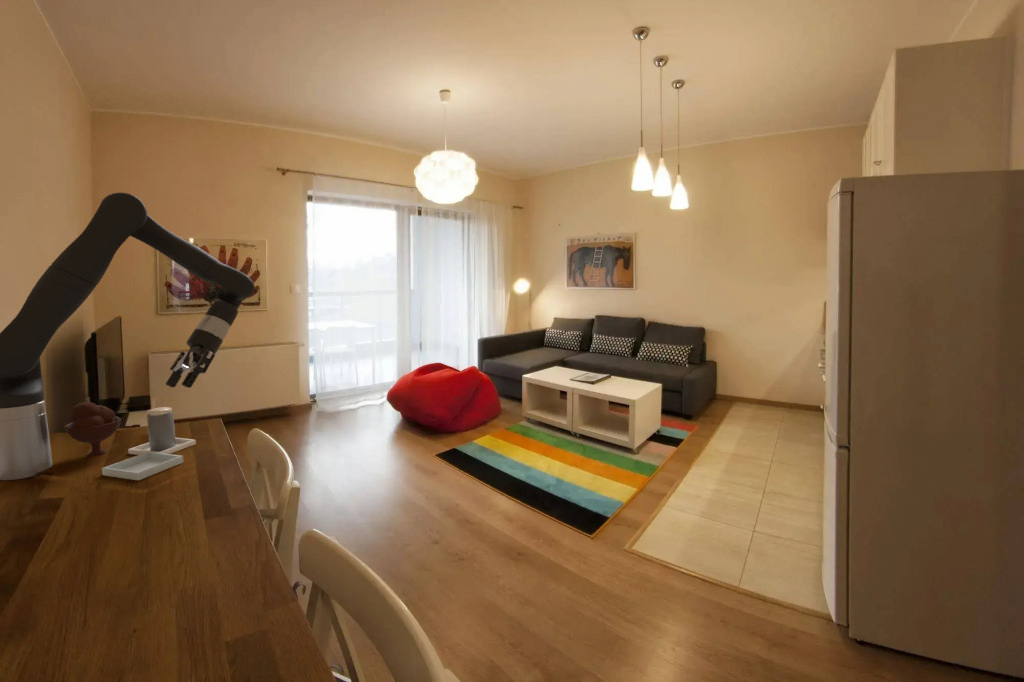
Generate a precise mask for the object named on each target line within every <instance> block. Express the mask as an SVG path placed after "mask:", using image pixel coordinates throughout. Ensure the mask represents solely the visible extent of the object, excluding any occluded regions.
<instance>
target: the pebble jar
mask: <svg viewBox="0 0 1024 682" xmlns="http://www.w3.org/2000/svg"><path fill="white" fill-rule="evenodd" d="M172 409H173V408H172V407H170V406H163V407H162V406H159V407H154V408H152V409H148V410H147V413H146V421H147V431H148V441H149V443H150V451H155V452H161V451H164V450H166V449H169V448H172V447H175V446H176V441H175V438H176V432H175V420H174V419H175V418H174V411H173V410H172Z"/></svg>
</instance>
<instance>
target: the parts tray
mask: <svg viewBox="0 0 1024 682" xmlns="http://www.w3.org/2000/svg"><path fill="white" fill-rule="evenodd" d="M175 441H176V446H175V447H172V448H169V449H166V450H164V451H161V452H157V453H165V454H173V453H176V452H178V451H181V450H184V449H187V448H190V447H192V446H194V445H196V444H197V442H196V441H197V440H196V439H191V438H182V437H175ZM127 451H128V455H135V456H138V455H141V454H143V453H146V452H155V451H150V443H149V442H148V441H147V442H146V443H143V444H140V445H137V446H134V447H130V448H128V450H127Z"/></svg>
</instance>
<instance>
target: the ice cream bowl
mask: <svg viewBox="0 0 1024 682" xmlns="http://www.w3.org/2000/svg"><path fill="white" fill-rule="evenodd" d="M68 414H69V417H70V419H71V420H72V422H70V423H66V424H65V425H63V427H64V429H65V432H66V433H67V434H68V435H69V436H70V437H71V438H72V439H73V440H76V441H78V442H80V443H83V444H90V445H91V451H90V452H89V453H87V454H86V455H85V457H86V458H95V457H100V456H103V455H106V454H108V453H109V451H108V450H104V449H102V448H101V447H102V446H101V444H102V442H103V441H105V440H106V439H108V438H110V437H111V436H112V435H114V434H115V433H116V432H117V431H118V430H119V429H120V426H121V422H122V418H121V417H119V416H116V414H115V411H114V410H112V409H111V408H109V407H107V406H105V405H100V404H99V405H98V404H96V403H95V402H92V401H91V402H86V401H85V402H84V401H83V402H80V403H78V404H76V405H74V406H73V407H72V408H71V409H70V411H69V413H68Z"/></svg>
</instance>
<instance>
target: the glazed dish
mask: <svg viewBox="0 0 1024 682" xmlns="http://www.w3.org/2000/svg"><path fill="white" fill-rule="evenodd" d="M183 463H184V455H181V454H180V455H178V454H173V453H171V454H165V453H157V452H146V453H143V454H141V455H135V456H132V457H130V458H127V459H124V460H121V461H119V462H116V463H112V464H110V465H107V466H104V467H102V468H101V473H102V476H105V477H113V478H119V479H126V480H134V481H141V480H143V479H146V478H149V477H151V476H153V475H156V474H158V473H161V472H163V471H166V470H167V469H171V468H173V467H175V466H177V465H180V464H183Z"/></svg>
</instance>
